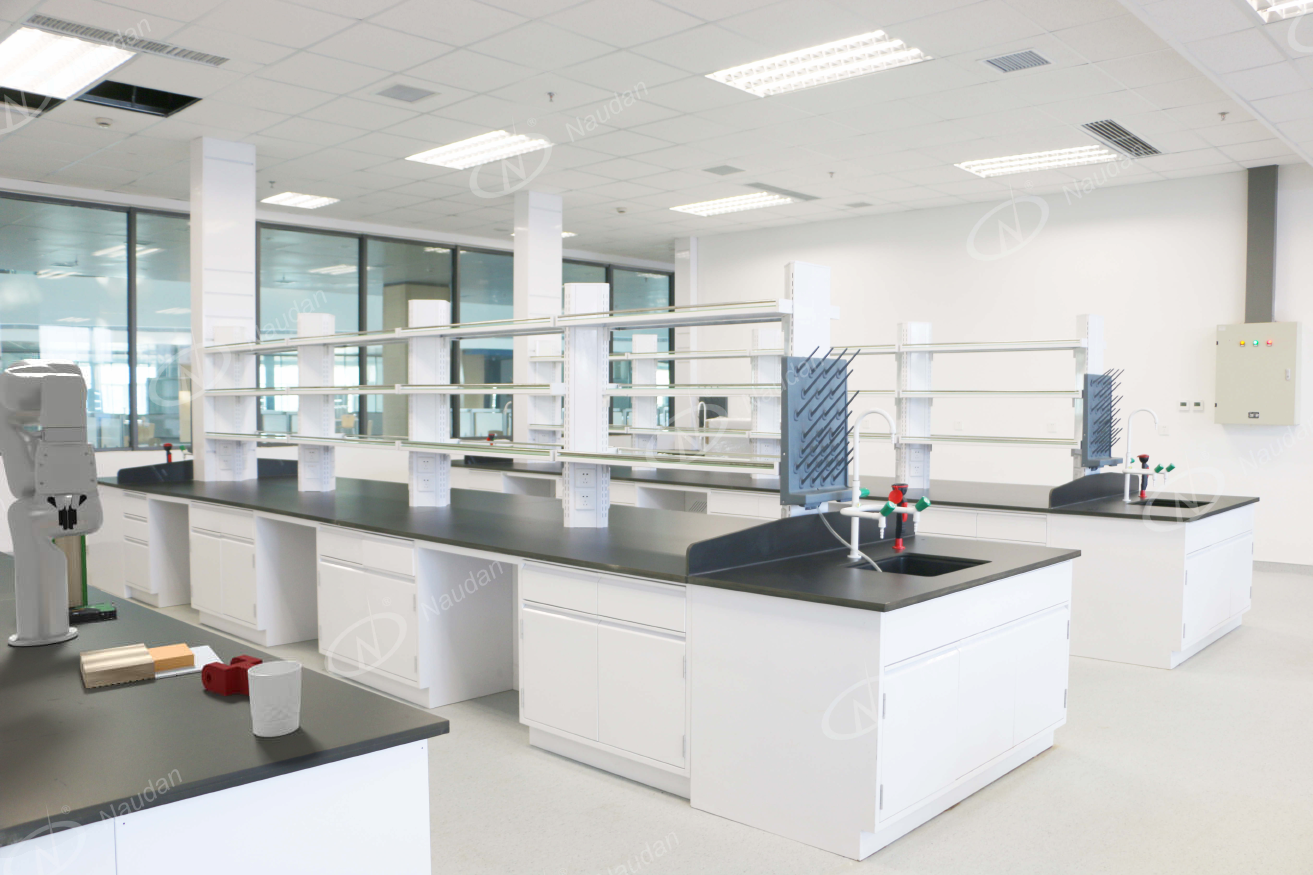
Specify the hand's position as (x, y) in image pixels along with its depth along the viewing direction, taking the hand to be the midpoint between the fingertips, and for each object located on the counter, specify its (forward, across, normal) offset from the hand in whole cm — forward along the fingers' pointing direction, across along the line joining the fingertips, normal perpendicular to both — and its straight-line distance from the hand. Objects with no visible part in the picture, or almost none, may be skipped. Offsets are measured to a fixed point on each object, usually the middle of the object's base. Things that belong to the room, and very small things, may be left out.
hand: (68, 528), depth 178 cm
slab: (+27, +16, -12) cm, 33 cm away
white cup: (+27, +24, -62) cm, 72 cm away
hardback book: (+27, +1, +61) cm, 67 cm away
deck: (+27, +6, -12) cm, 30 cm away
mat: (+27, +18, -12) cm, 35 cm away
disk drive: (+28, +4, +43) cm, 52 cm away
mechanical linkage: (+28, +24, -38) cm, 53 cm away
